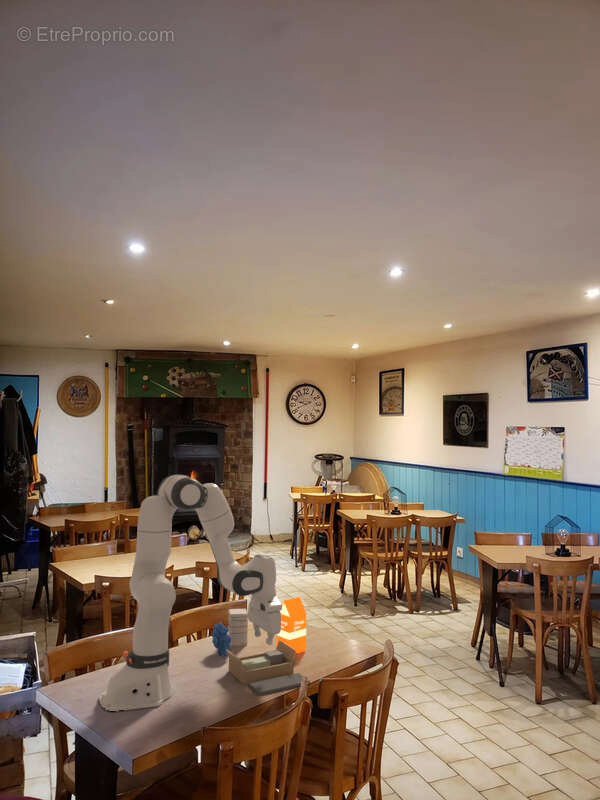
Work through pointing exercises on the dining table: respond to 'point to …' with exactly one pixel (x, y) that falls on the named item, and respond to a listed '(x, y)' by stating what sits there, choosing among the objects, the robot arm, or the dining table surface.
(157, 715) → the dining table surface
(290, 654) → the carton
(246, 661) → the block
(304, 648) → the orange juice
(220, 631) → the grapes
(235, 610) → the supplement box
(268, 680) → the rubber mat
